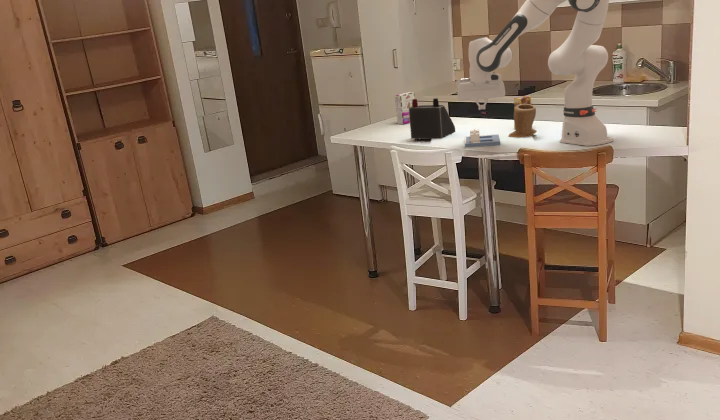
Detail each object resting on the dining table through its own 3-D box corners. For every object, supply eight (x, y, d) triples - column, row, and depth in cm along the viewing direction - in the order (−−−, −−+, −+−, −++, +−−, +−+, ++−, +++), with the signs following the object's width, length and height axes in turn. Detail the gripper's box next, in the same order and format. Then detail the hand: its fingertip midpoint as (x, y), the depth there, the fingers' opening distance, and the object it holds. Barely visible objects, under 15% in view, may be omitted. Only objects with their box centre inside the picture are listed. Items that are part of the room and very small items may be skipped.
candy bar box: (410, 120, 376) (408, 91, 371) (417, 121, 372) (414, 92, 367) (396, 124, 369) (394, 94, 364) (403, 124, 365) (400, 95, 360)
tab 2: (479, 143, 289) (479, 131, 287) (479, 144, 286) (479, 132, 285) (470, 143, 289) (469, 132, 288) (470, 145, 287) (469, 133, 285)
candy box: (521, 130, 316) (520, 98, 312) (514, 129, 319) (512, 98, 315) (532, 126, 322) (531, 95, 317) (524, 126, 325) (523, 95, 320)
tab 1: (479, 139, 296) (479, 128, 295) (479, 140, 293) (479, 129, 292) (470, 140, 297) (470, 128, 296) (470, 141, 294) (470, 130, 293)
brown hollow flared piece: (530, 141, 291) (529, 107, 287) (505, 140, 298) (504, 107, 294) (543, 134, 302) (542, 101, 298) (519, 133, 309) (518, 101, 305)
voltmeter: (455, 134, 323) (453, 93, 317) (442, 141, 309) (439, 99, 304) (425, 134, 331) (422, 94, 325) (411, 141, 318) (408, 99, 312)
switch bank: (498, 140, 298) (498, 133, 297) (500, 148, 283) (500, 141, 282) (465, 143, 300) (464, 136, 299) (465, 150, 285) (464, 143, 284)
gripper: (455, 79, 279) (457, 112, 283) (504, 75, 275) (506, 108, 279) (455, 78, 285) (457, 110, 289) (504, 73, 281) (505, 106, 285)
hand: (482, 109), depth 284 cm, fingers closed
